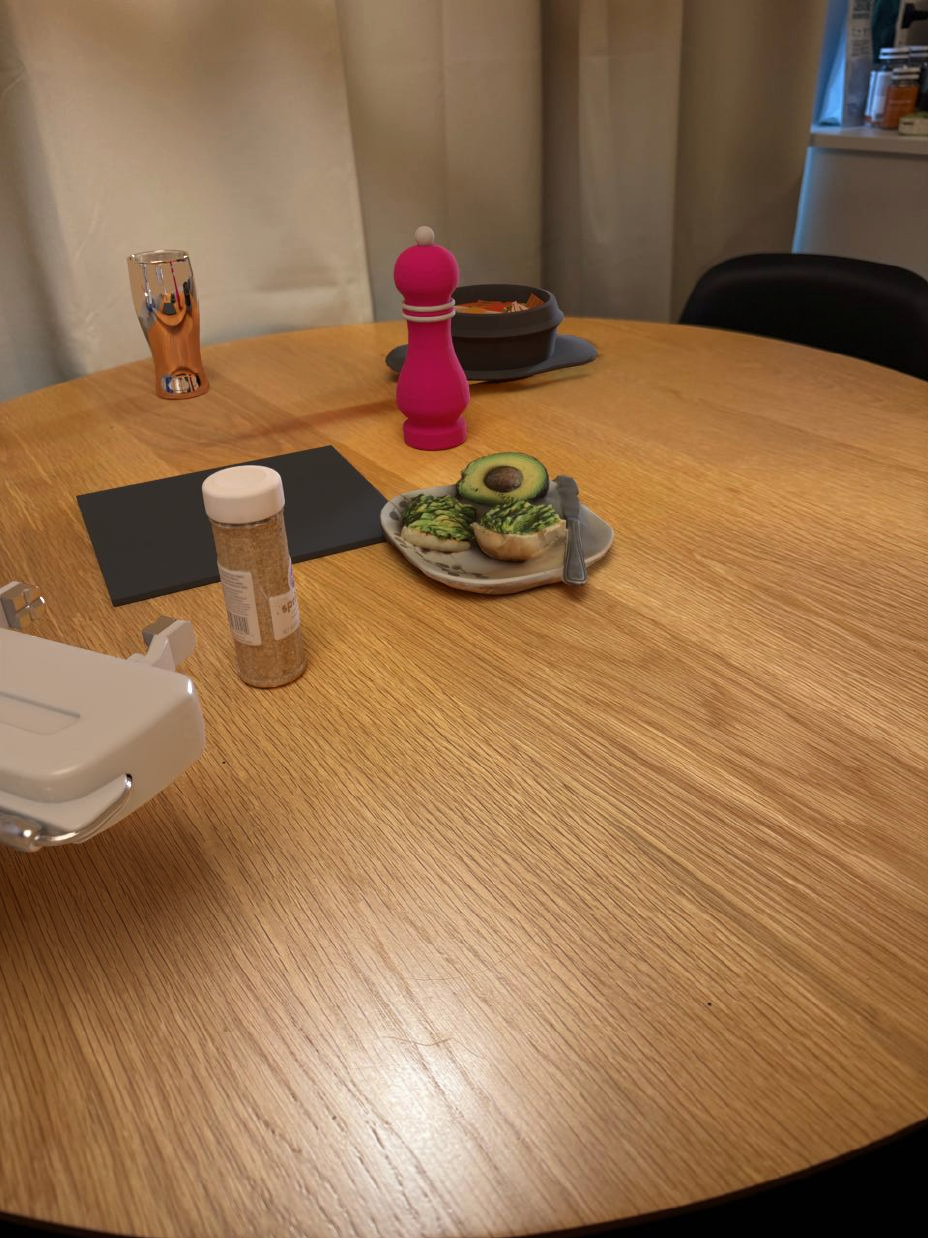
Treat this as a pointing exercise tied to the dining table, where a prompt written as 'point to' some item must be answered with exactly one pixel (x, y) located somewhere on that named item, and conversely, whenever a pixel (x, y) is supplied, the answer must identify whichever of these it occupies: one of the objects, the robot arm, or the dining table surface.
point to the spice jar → (256, 573)
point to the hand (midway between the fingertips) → (105, 612)
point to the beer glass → (169, 320)
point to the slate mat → (182, 534)
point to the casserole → (507, 334)
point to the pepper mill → (430, 347)
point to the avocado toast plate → (498, 528)
